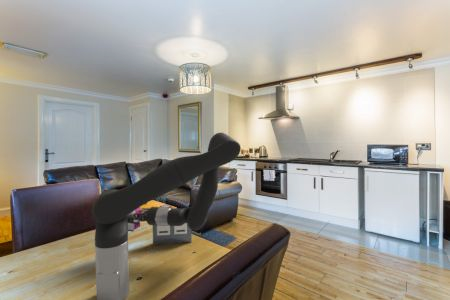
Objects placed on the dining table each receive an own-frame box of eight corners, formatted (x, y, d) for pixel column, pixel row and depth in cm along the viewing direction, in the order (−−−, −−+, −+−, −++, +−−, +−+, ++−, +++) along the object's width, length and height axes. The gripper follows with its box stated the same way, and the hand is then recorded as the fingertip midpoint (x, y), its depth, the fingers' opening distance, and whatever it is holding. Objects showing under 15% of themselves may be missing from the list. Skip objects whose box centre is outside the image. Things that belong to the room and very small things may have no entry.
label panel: (191, 242, 109) (191, 213, 108) (152, 245, 106) (152, 215, 106) (191, 240, 111) (191, 212, 111) (153, 243, 109) (153, 214, 108)
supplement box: (133, 231, 95) (132, 204, 95) (120, 230, 96) (119, 204, 96) (141, 226, 101) (140, 201, 100) (129, 225, 102) (128, 200, 102)
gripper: (168, 202, 102) (135, 201, 106) (151, 212, 88) (113, 211, 92) (168, 219, 102) (135, 217, 106) (152, 231, 88) (114, 229, 92)
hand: (125, 214), depth 99 cm, fingers closed on supplement box, 5 cm apart
